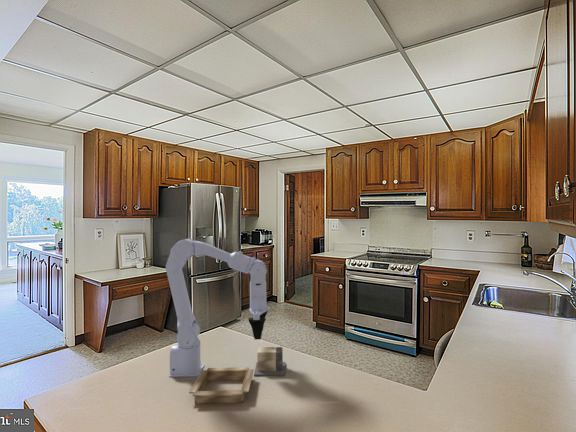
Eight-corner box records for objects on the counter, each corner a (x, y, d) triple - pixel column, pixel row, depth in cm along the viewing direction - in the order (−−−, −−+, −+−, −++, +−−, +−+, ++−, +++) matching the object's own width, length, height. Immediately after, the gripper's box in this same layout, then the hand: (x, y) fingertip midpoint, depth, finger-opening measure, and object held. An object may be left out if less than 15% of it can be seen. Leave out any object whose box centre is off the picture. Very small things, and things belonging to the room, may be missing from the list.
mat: (253, 376, 102) (253, 374, 102) (256, 363, 111) (256, 362, 111) (285, 375, 102) (285, 373, 102) (285, 363, 111) (285, 361, 111)
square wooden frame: (187, 406, 86) (187, 395, 86) (203, 377, 102) (203, 368, 102) (247, 405, 86) (247, 394, 86) (254, 376, 102) (254, 367, 102)
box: (257, 371, 105) (257, 352, 105) (259, 365, 109) (259, 347, 109) (282, 371, 104) (281, 352, 105) (282, 364, 109) (282, 347, 109)
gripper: (268, 300, 103) (269, 342, 103) (270, 290, 118) (271, 328, 117) (246, 300, 103) (247, 343, 103) (251, 291, 118) (252, 328, 117)
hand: (258, 335), depth 110 cm, fingers open, 7 cm apart
